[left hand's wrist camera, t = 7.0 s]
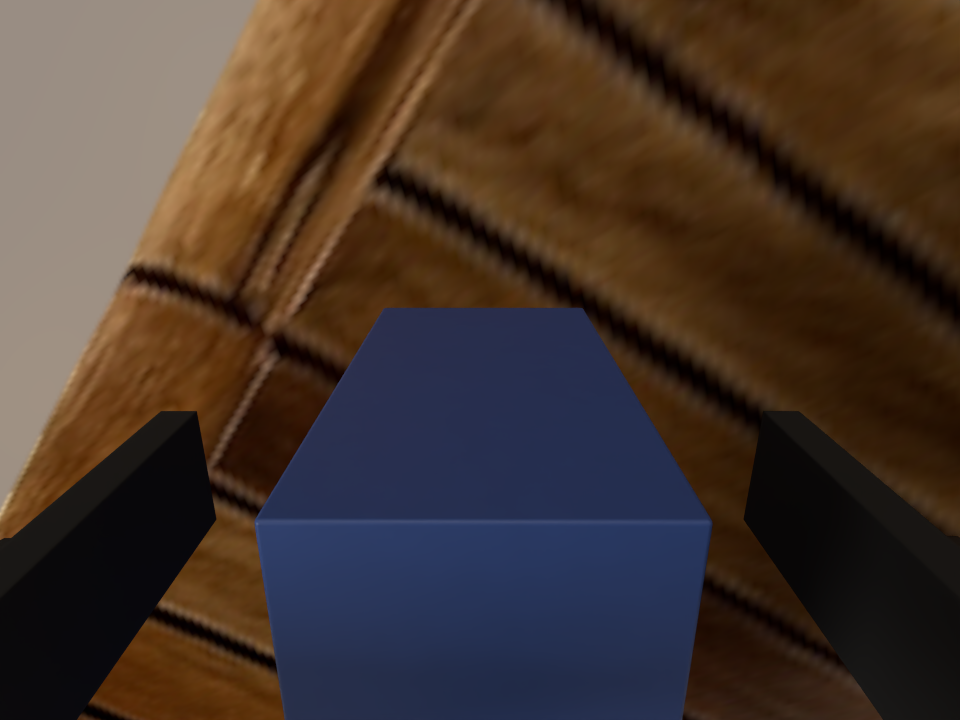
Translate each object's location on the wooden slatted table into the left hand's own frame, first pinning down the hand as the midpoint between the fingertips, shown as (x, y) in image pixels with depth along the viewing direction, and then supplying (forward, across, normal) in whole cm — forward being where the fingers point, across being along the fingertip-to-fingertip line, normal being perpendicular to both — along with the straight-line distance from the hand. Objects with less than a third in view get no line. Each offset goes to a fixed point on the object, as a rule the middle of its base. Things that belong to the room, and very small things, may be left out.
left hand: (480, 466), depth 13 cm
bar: (+2, 0, -8) cm, 9 cm away
